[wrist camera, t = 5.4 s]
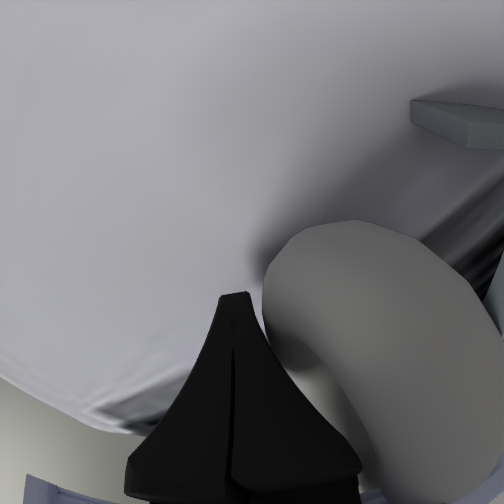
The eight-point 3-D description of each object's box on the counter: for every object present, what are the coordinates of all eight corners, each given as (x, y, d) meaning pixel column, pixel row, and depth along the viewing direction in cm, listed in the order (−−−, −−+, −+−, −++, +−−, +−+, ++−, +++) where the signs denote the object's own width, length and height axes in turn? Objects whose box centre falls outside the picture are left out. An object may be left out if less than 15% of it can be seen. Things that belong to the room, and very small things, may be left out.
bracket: (484, 309, 15) (504, 339, 13) (377, 346, 16) (394, 388, 13) (538, 118, 7) (580, 140, 5) (410, 100, 8) (468, 121, 5)
